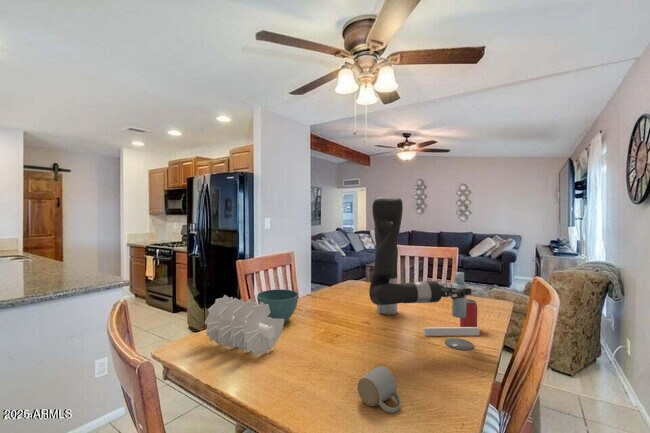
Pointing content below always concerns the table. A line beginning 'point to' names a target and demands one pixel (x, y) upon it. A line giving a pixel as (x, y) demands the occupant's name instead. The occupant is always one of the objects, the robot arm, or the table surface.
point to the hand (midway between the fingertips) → (465, 289)
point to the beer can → (470, 314)
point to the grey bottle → (459, 303)
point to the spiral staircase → (243, 325)
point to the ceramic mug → (379, 388)
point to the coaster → (459, 344)
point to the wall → (450, 331)
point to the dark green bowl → (279, 302)
